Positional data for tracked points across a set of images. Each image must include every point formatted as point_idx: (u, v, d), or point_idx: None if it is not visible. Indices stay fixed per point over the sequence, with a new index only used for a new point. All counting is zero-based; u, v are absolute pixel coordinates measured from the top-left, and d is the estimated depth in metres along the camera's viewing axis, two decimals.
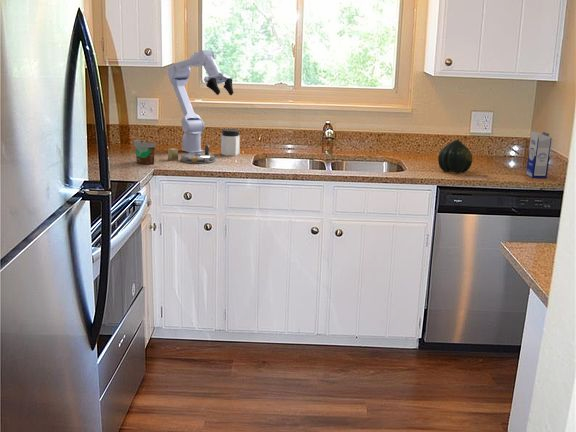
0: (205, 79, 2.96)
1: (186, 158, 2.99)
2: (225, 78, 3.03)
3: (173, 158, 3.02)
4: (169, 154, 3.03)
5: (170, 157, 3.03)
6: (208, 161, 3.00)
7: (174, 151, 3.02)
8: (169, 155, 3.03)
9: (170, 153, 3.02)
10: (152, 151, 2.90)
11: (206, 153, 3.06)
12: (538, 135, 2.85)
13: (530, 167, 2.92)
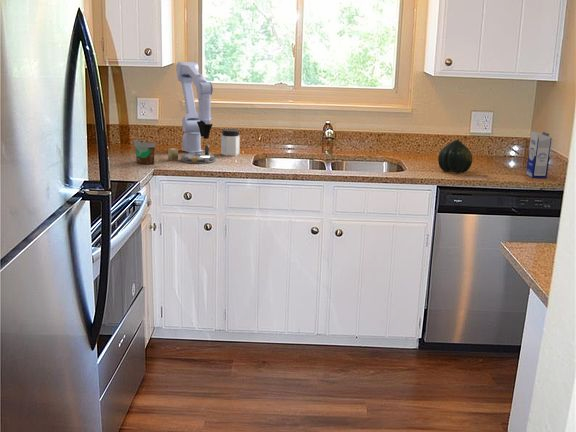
0: (207, 122, 3.02)
1: (186, 158, 2.99)
2: None
3: (173, 158, 3.02)
4: (169, 154, 3.03)
5: (170, 157, 3.03)
6: (208, 161, 3.00)
7: (174, 151, 3.02)
8: (169, 155, 3.03)
9: (170, 153, 3.02)
10: (152, 151, 2.90)
11: (206, 153, 3.06)
12: (538, 135, 2.85)
13: (530, 167, 2.92)
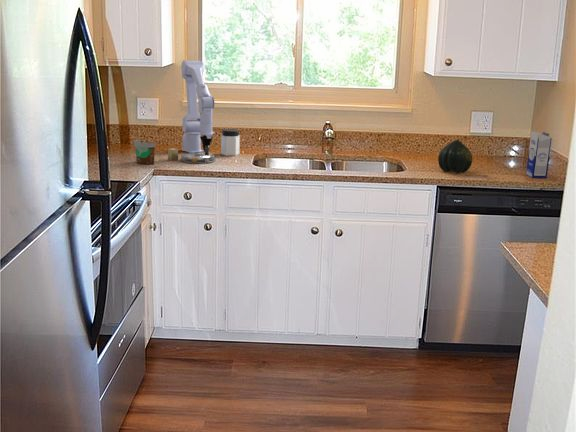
0: (209, 136, 3.00)
1: (186, 158, 2.99)
2: None
3: (173, 158, 3.02)
4: (169, 154, 3.03)
5: (170, 157, 3.03)
6: (208, 161, 3.00)
7: (174, 151, 3.02)
8: (169, 155, 3.03)
9: (170, 153, 3.02)
10: (152, 151, 2.90)
11: (206, 153, 3.06)
12: (538, 135, 2.85)
13: (530, 167, 2.92)
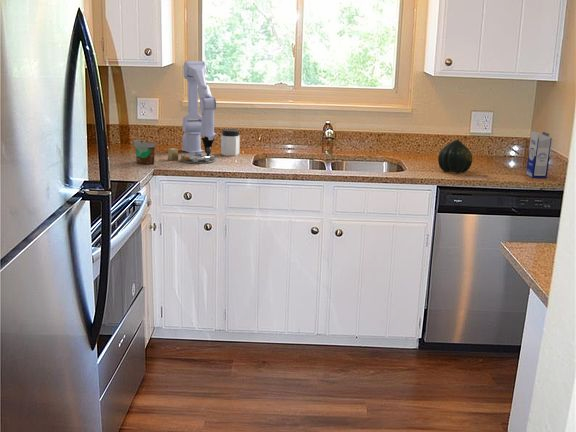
0: (211, 138, 2.97)
1: (182, 156, 3.03)
2: None
3: (173, 158, 3.02)
4: (169, 154, 3.03)
5: (170, 157, 3.03)
6: (208, 161, 3.00)
7: (174, 151, 3.02)
8: (169, 155, 3.03)
9: (170, 153, 3.02)
10: (152, 151, 2.90)
11: (207, 154, 3.03)
12: (538, 135, 2.85)
13: (530, 167, 2.92)
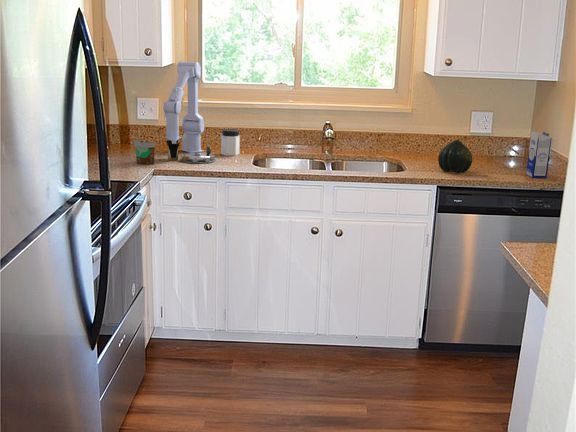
0: (174, 141, 2.95)
1: (182, 156, 3.03)
2: None
3: (173, 158, 3.02)
4: (169, 154, 3.03)
5: (170, 157, 3.03)
6: (208, 161, 3.00)
7: None
8: (169, 155, 3.03)
9: None
10: (152, 151, 2.90)
11: (207, 154, 3.03)
12: (538, 135, 2.85)
13: (530, 167, 2.92)
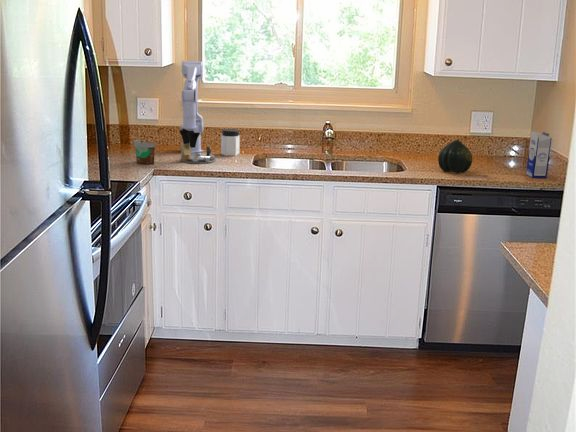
0: (197, 130, 2.92)
1: (182, 156, 3.03)
2: None
3: (186, 153, 2.99)
4: (182, 150, 3.00)
5: (183, 152, 2.99)
6: (208, 161, 3.00)
7: (186, 145, 2.99)
8: (182, 151, 3.00)
9: (182, 148, 2.99)
10: (152, 151, 2.90)
11: (207, 154, 3.03)
12: (538, 135, 2.85)
13: (530, 167, 2.92)
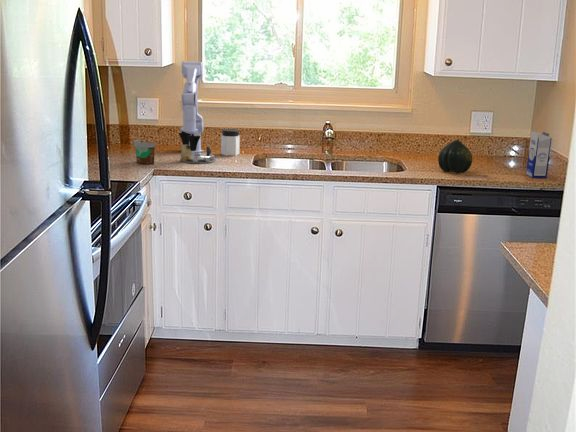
0: (197, 134, 2.92)
1: (182, 156, 3.03)
2: None
3: (186, 154, 2.98)
4: (182, 150, 2.99)
5: (183, 153, 2.99)
6: (208, 161, 3.00)
7: (187, 147, 2.98)
8: (182, 151, 2.99)
9: (183, 149, 2.98)
10: (152, 151, 2.90)
11: (207, 154, 3.03)
12: (538, 135, 2.85)
13: (530, 167, 2.92)
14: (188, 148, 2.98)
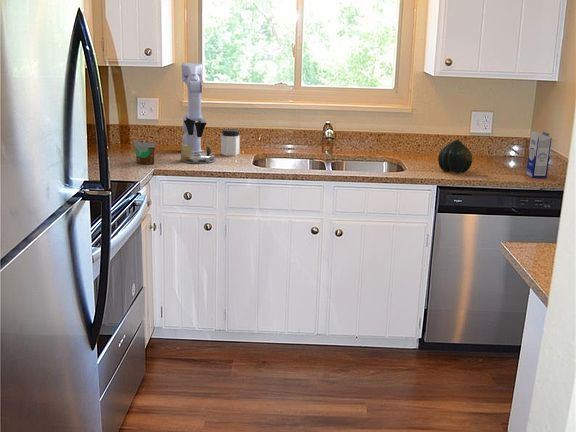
0: (203, 120, 3.03)
1: (182, 156, 3.03)
2: None
3: (186, 154, 2.98)
4: (182, 150, 2.99)
5: (183, 153, 2.99)
6: (208, 161, 3.00)
7: (187, 147, 2.98)
8: (182, 151, 2.99)
9: (183, 149, 2.98)
10: (152, 151, 2.90)
11: (207, 154, 3.03)
12: (538, 135, 2.85)
13: (530, 167, 2.92)
14: (188, 148, 2.98)
